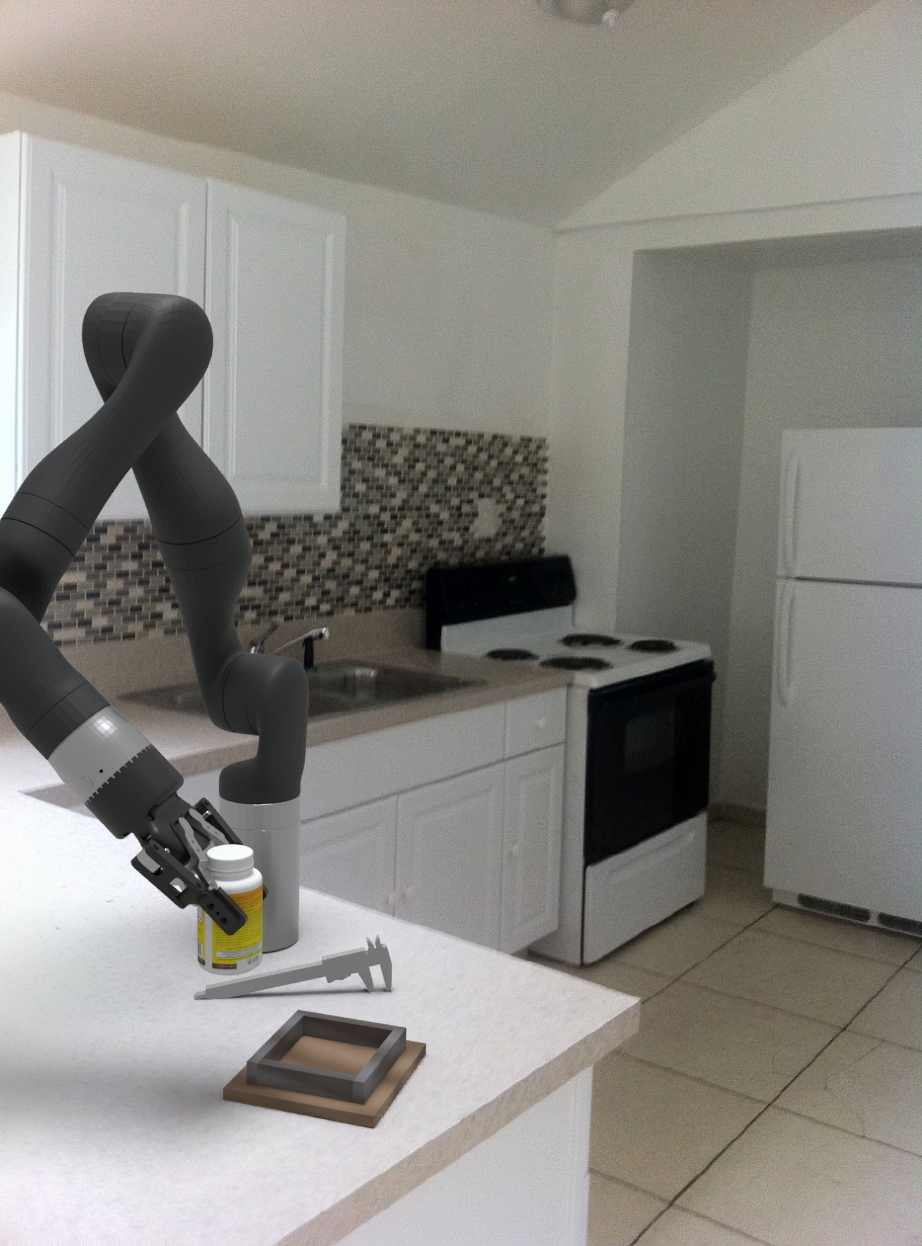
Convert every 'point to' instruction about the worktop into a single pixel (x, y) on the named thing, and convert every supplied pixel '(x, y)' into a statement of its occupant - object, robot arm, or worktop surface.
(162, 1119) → the worktop surface
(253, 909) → the supplement bottle
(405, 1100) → the worktop surface
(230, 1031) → the worktop surface
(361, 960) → the caliper
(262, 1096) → the collar base
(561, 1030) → the worktop surface
